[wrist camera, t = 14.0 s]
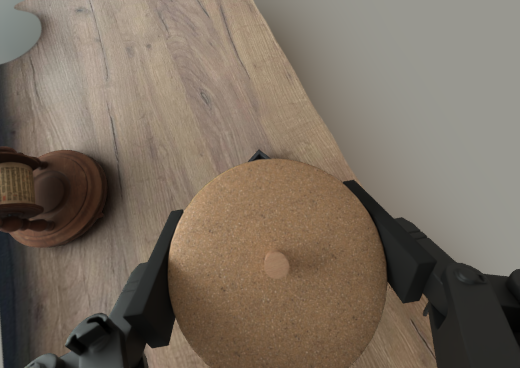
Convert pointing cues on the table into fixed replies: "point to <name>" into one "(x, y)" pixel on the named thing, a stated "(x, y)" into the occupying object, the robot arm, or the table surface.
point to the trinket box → (277, 269)
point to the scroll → (49, 196)
